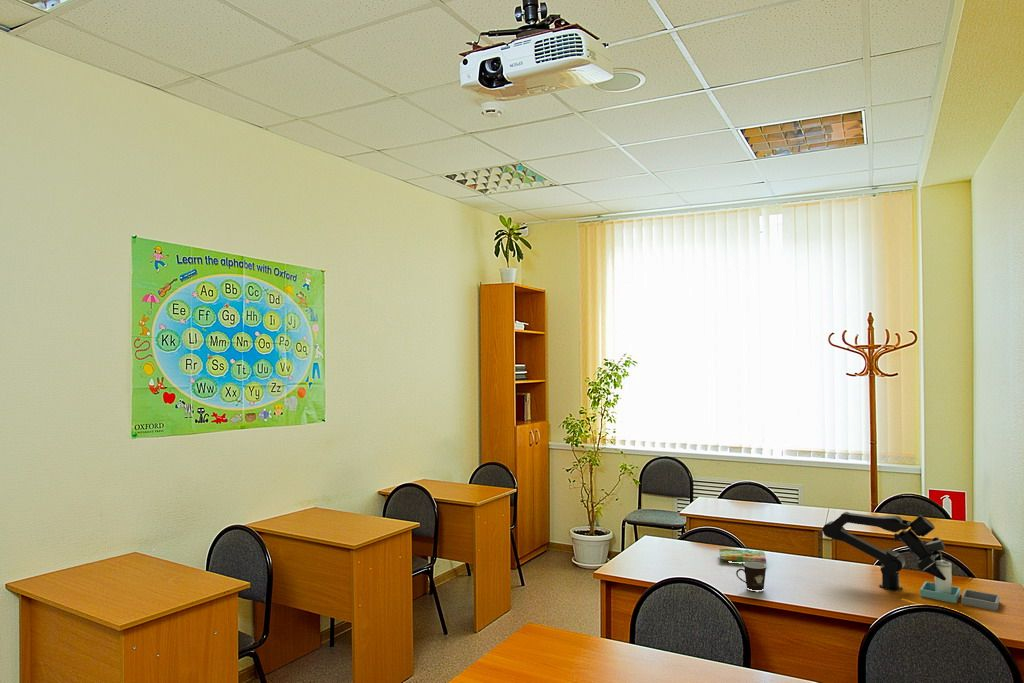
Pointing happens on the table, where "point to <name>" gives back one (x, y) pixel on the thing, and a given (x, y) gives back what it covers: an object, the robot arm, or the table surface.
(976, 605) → the bin
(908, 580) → the table surface
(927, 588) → the bin
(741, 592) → the table surface
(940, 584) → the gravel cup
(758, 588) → the coffee mug
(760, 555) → the puzzle game
